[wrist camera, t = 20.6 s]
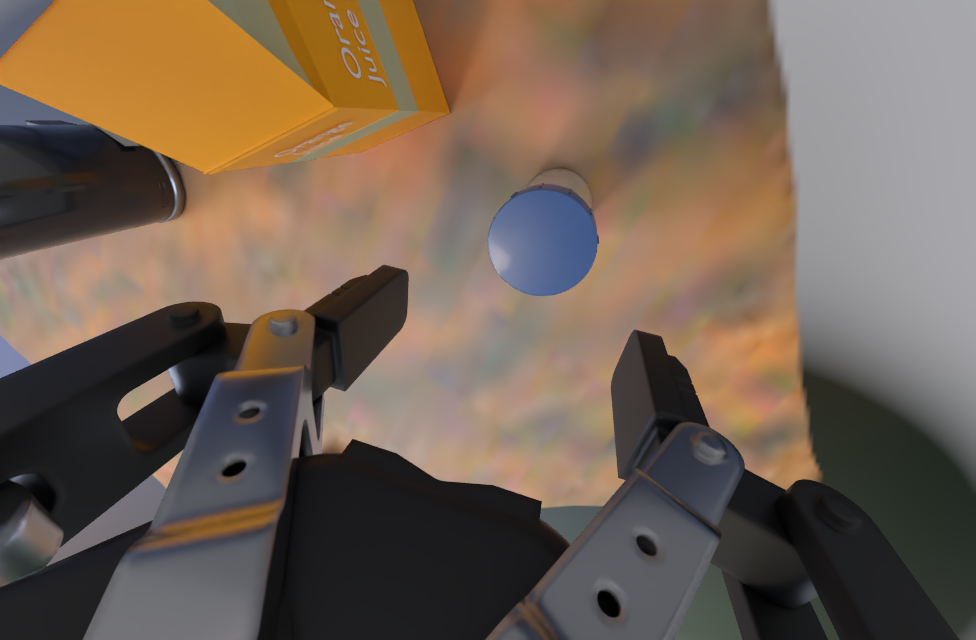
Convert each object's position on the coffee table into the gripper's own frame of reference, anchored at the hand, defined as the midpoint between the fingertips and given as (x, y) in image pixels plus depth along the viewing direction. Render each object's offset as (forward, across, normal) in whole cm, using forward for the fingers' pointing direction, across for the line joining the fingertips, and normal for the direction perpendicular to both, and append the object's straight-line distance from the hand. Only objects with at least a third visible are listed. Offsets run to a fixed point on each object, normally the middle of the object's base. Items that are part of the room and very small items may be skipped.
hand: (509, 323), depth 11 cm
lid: (+9, 0, 0) cm, 9 cm away
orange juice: (+20, +15, -6) cm, 26 cm away
